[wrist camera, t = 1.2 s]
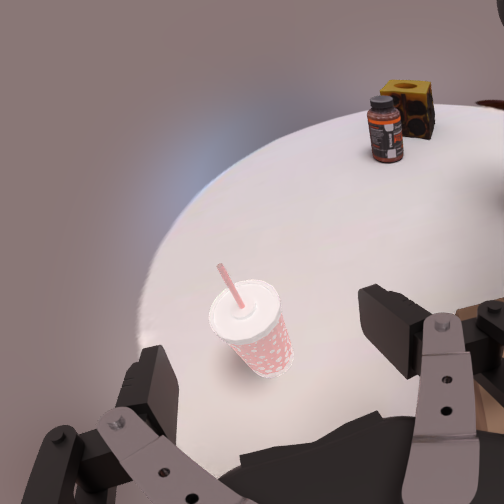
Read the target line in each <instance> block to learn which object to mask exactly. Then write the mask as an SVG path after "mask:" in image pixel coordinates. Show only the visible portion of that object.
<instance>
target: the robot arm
mask: <svg viewBox="0 0 504 504" xmlns="http://www.w3.org/2000/svg"><path fill="white" fill-rule="evenodd" d="M497 7H498V13H499V17H500V19H501V22H502V24H503V26H504V0H497ZM358 301H359V311H360V322H361V327H362V330H363V333H364V335H365V336H366V337H367V338H368V340H369V341H370V342H371V343H372V344H373V345H374V346H375V347H376V348H377V349H378V350H379V351H380V352H381V353H382V354H383V355H384V356H385V357H386V358H387V359H388V360H389V361H390V362H391V363H392V364H393V365H394V366H395V367H396V369H397V370H398V371H399V372H400V373H401V374H402V375H403V376H404V377H405V378H406V379H407V380H408V379H410V378H412V377H414V376H416V375H419V376H420V382H419V391H418V400H417V407H416V415H415V417H410V416H396V417H388V418H382V417H381V415H380V414H379V412H378V411H374V412H372V413H370V414H367V415H365V416H363V417H360V418H358V419H355V420H353V421H350V422H348V423H345V424H344V425H342V426H340V427H339V428H337V429H336V430H334V431H332V432H331V433H329V434H327V435H326V436H324V437H322V438H320V439H319V440H317V441H315V442H312V443H305V444H297V445H288V446H277V447H271V448H268V449H264V450H260V451H256V452H252V453H248V454H243V455H239V456H240V462H241V465H240V466H238V467H236V468H234V469H232V470H230V471H228V472H227V473H225V474H224V475H223V476H221V477H220V478H219V479H216V478H215V477H213V476H212V475H211V474H210V473H208V472H207V471H206V470H204V469H203V468H202V467H201V466H199V465H198V464H197V463H196V462H194V461H193V460H192V459H191V458H189V457H188V456H187V455H186V454H185V453H183V452H182V451H181V450H180V449H179V448H178V447H177V446H176V430H177V413H178V397H179V386H178V381H177V378H176V376H175V373H174V371H173V369H172V366H171V364H170V362H169V360H168V357H167V355H166V353H165V350H164V348H163V347H162V345H157V346H153V347H148V348H144V349H142V352H141V356H140V359H139V362H136V363H133V364H132V365H131V367H130V368H129V369H128V371H127V372H126V375H125V378H124V381H123V384H122V388H121V390H120V393H119V396H118V400H117V403H116V406H115V408H113V409H111V410H109V411H107V412H106V413H104V414H103V415H102V416H101V417H100V419H99V420H98V422H97V429H95V430H91V431H88V432H85V433H82V434H79V435H78V433H77V432H76V430H75V429H74V428H73V427H71V426H68V425H62V426H58V427H56V428H54V429H52V430H51V431H50V432H48V434H47V435H46V436H45V438H44V440H43V442H42V445H41V447H40V450H39V453H38V455H37V458H36V461H35V463H34V466H33V469H32V472H31V474H30V477H29V481H28V483H27V486H26V490H25V493H24V496H23V499H22V502H21V504H115V498H116V488H117V486H118V485H121V484H124V483H127V482H130V481H133V480H134V482H135V483H136V484H137V485H138V486H139V488H140V489H141V490H142V491H143V493H145V495H146V496H147V497H148V498H149V499H150V501H151V502H152V503H153V504H504V434H500V433H493V432H487V431H481V430H476V413H475V394H474V382H473V379H474V380H475V381H476V382H477V383H478V384H480V385H481V386H482V387H483V388H484V389H485V390H486V391H487V392H488V393H489V394H490V395H491V396H492V397H493V398H494V399H495V400H496V401H497V402H498V403H499V404H500V405H501V406H502V407H503V408H504V358H503V357H502V356H503V351H504V302H501V301H496V300H490V301H485V302H483V303H481V304H480V305H479V306H478V308H477V317H474V318H471V319H467V320H463V321H461V320H460V318H459V317H457V316H456V315H454V314H451V313H436V314H431V313H430V312H428V311H427V310H425V309H424V308H422V307H421V306H419V305H418V304H415V303H414V302H413V301H411V300H409V299H408V298H407V297H405V296H404V295H402V294H400V293H396V292H393V291H386V290H385V289H383V288H382V287H380V286H379V285H377V284H374V285H371V286H368V287H365V288H362V289H359V291H358ZM75 483H76V484H77V489H76V495H75V499H74V494H73V491H74V486H75Z"/></svg>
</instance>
